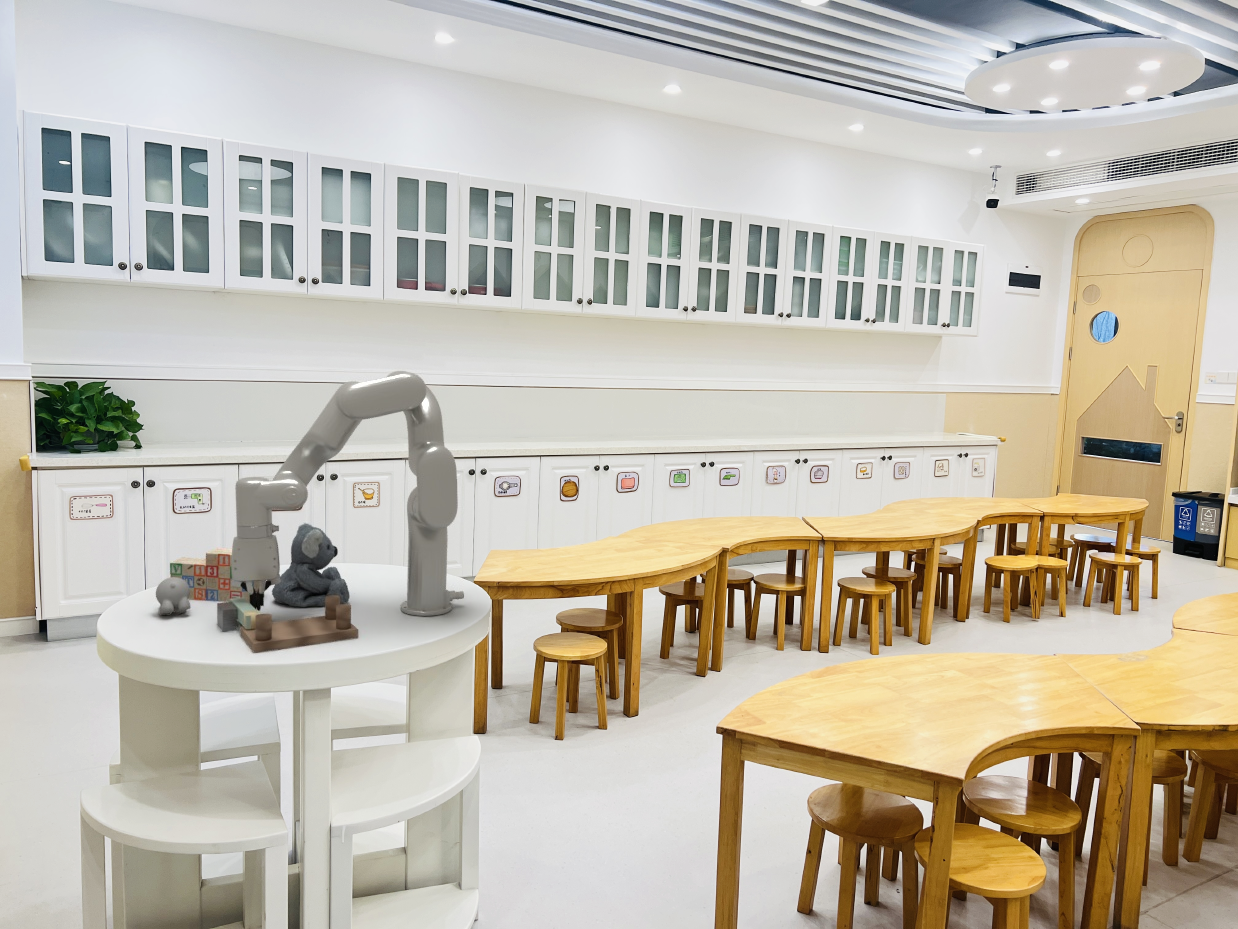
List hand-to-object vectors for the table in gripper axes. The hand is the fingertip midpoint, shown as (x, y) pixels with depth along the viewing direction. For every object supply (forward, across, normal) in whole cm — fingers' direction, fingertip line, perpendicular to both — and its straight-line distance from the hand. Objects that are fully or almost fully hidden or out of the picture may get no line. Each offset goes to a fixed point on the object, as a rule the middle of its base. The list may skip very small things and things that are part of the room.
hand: (256, 609), depth 202 cm
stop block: (+3, +6, +2) cm, 7 cm away
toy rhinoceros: (+3, +19, -12) cm, 23 cm away
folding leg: (+1, +2, +5) cm, 5 cm away
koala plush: (+4, -12, -17) cm, 21 cm away
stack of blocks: (+3, +10, -23) cm, 25 cm away
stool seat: (+3, -9, +12) cm, 16 cm away
